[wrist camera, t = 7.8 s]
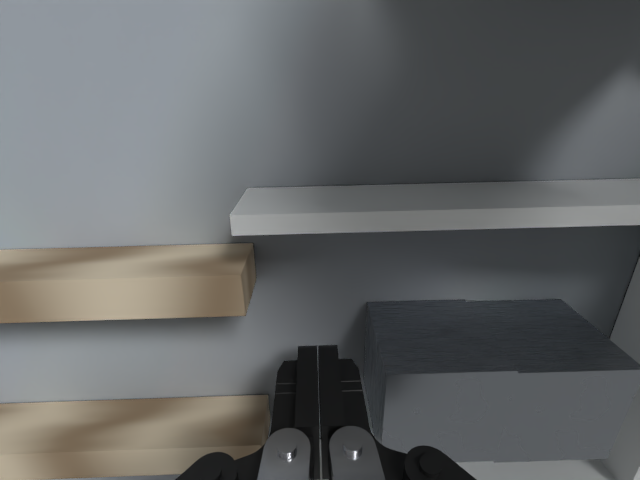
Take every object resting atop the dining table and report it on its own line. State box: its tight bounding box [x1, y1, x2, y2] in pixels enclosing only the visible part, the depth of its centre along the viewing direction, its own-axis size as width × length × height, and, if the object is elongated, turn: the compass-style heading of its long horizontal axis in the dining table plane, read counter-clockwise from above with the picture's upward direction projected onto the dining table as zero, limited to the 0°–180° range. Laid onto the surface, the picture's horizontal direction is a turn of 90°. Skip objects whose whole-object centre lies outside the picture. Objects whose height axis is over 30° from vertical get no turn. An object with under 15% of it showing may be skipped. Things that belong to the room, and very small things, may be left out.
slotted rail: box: [0, 243, 270, 480], centre depth 14 cm, size 14×9×2 cm, turn 91°
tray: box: [229, 178, 640, 480], centre depth 14 cm, size 16×13×3 cm
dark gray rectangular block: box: [364, 300, 518, 462], centre depth 13 cm, size 4×4×4 cm
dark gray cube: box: [467, 299, 640, 463], centre depth 13 cm, size 4×4×4 cm
